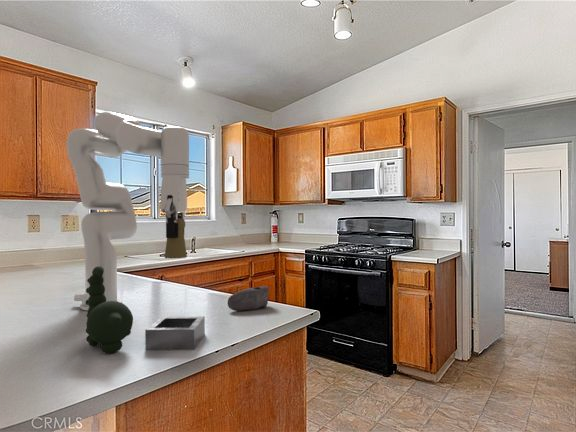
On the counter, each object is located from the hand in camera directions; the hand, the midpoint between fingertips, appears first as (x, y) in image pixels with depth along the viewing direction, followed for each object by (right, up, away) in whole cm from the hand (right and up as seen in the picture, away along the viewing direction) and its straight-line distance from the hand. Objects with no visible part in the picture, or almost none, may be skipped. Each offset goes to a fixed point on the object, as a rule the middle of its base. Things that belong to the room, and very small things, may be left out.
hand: (175, 236), depth 107 cm
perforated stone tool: (+19, -25, +16) cm, 35 cm away
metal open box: (+5, -24, -15) cm, 29 cm away
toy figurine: (-12, -25, -17) cm, 32 cm away
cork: (0, -6, 0) cm, 6 cm away
